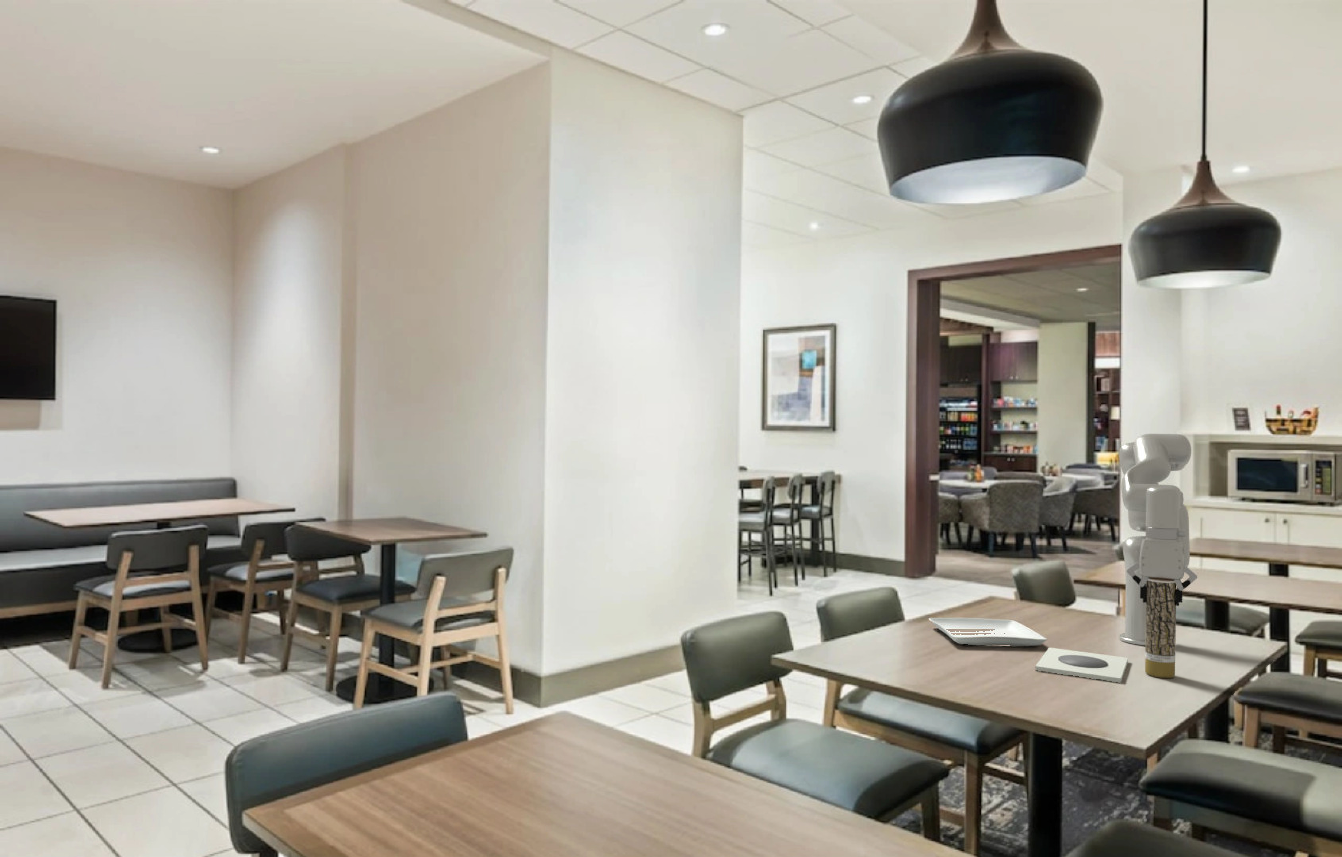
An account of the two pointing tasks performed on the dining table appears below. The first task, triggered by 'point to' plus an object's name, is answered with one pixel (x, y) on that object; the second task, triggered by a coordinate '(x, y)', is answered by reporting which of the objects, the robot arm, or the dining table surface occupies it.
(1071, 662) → the seat board
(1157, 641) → the paper tube
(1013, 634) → the square plate
